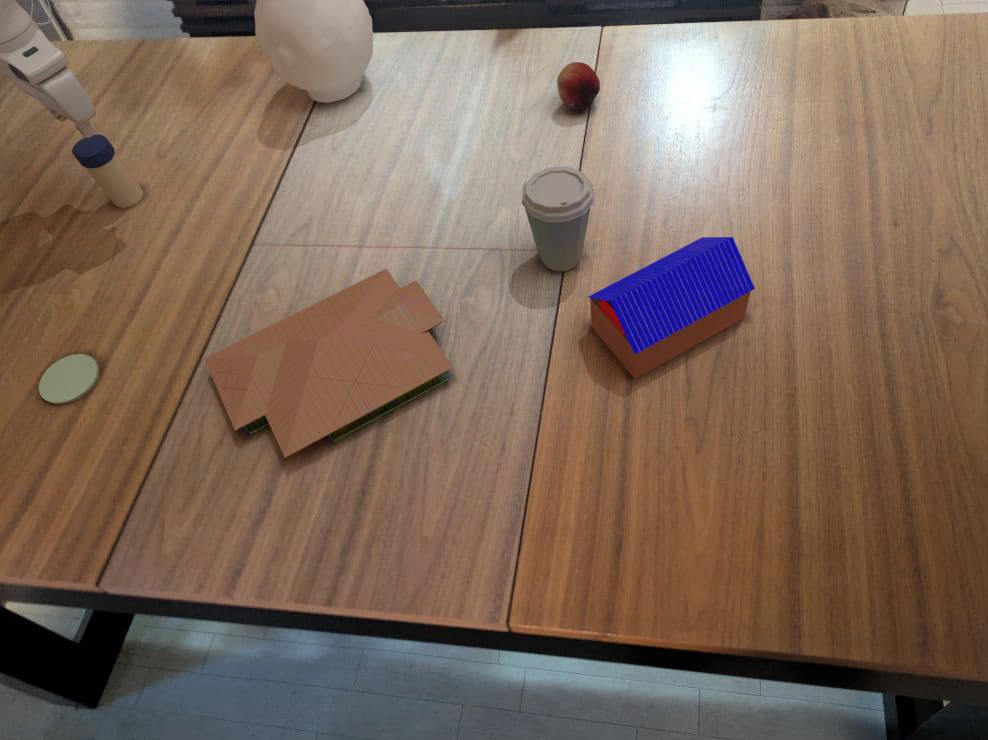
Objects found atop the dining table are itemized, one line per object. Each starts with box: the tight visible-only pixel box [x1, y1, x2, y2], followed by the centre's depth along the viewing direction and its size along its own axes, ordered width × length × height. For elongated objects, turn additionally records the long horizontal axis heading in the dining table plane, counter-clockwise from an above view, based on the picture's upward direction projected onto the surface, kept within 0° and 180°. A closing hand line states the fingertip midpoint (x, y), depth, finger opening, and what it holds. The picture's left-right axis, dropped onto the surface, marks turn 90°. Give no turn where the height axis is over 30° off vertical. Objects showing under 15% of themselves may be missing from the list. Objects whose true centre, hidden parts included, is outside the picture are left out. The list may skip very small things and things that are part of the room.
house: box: [587, 236, 756, 380], centre depth 100 cm, size 12×20×12 cm, turn 120°
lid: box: [71, 134, 116, 169], centre depth 122 cm, size 6×6×2 cm
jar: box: [85, 152, 144, 209], centre depth 126 cm, size 6×6×11 cm
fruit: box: [556, 61, 601, 111], centre depth 129 cm, size 8×8×8 cm
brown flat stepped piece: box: [203, 268, 454, 459], centre depth 102 cm, size 23×33×8 cm
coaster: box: [38, 353, 100, 405], centre depth 109 cm, size 9×9×1 cm
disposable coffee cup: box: [521, 166, 595, 272], centre depth 107 cm, size 11×11×15 cm
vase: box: [253, 0, 374, 104], centre depth 130 cm, size 19×21×30 cm
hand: (76, 126), depth 118 cm, fingers open, 7 cm apart
